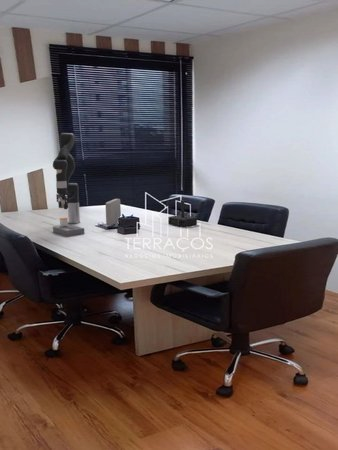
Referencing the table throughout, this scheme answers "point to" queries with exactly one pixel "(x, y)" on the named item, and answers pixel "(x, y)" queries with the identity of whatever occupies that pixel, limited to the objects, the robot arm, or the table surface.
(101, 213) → the table surface
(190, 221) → the dark pedestal with post
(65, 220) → the lever
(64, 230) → the switch panel
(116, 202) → the network device
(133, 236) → the table surface
